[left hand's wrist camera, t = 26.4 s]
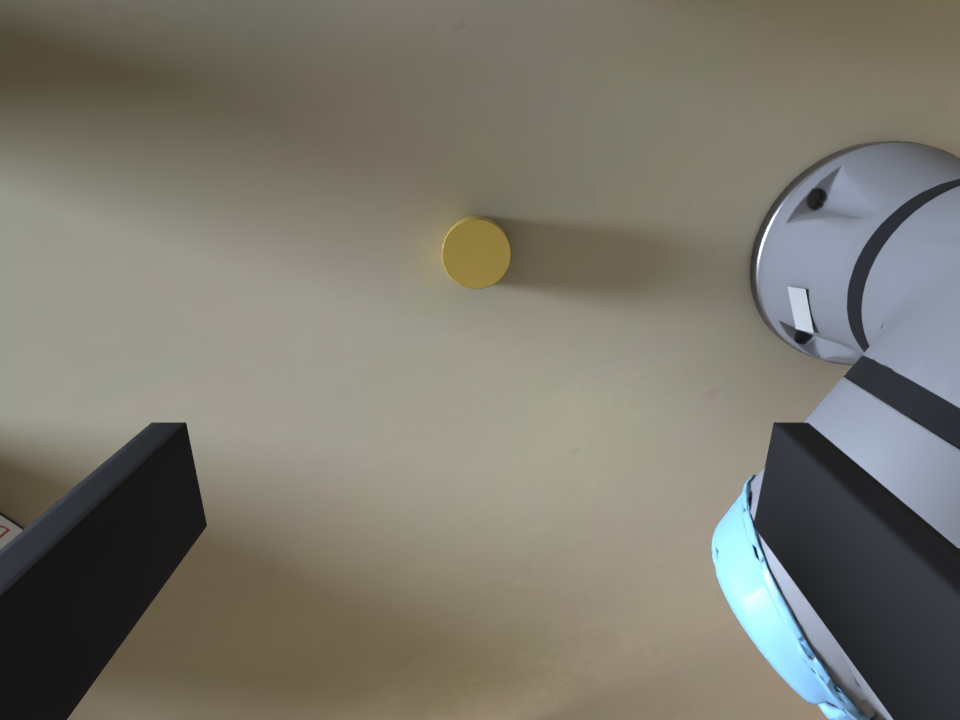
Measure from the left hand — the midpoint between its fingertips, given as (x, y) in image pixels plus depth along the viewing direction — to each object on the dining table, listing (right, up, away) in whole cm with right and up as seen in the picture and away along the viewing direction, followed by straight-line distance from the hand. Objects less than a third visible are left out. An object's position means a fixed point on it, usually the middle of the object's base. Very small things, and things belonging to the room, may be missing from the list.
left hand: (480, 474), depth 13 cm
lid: (0, +10, +26) cm, 28 cm away
